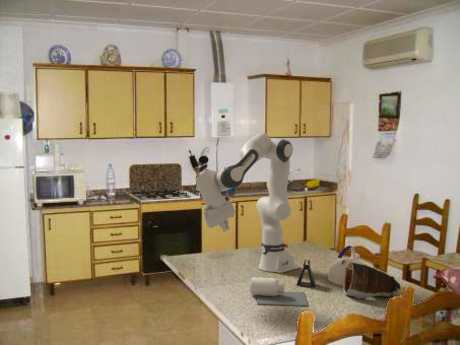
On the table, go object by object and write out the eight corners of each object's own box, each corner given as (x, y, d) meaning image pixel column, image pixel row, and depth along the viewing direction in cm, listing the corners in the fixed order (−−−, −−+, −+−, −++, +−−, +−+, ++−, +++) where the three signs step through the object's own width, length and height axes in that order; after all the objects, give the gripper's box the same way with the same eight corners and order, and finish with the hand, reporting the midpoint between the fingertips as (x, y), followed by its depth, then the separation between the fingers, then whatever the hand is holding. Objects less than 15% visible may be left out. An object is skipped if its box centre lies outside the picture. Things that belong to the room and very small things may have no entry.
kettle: (375, 280, 237) (377, 246, 236) (356, 290, 222) (357, 253, 220) (340, 271, 251) (341, 239, 249) (319, 280, 236) (321, 245, 234)
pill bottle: (253, 279, 217) (285, 281, 214) (251, 296, 213) (284, 299, 210) (250, 275, 210) (283, 277, 207) (249, 292, 207) (282, 295, 203)
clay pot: (409, 276, 207) (354, 264, 207) (402, 310, 206) (347, 297, 206) (397, 270, 221) (346, 259, 222) (391, 301, 221) (340, 290, 221)
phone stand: (315, 283, 230) (316, 260, 229) (314, 287, 224) (315, 263, 223) (297, 281, 232) (298, 258, 231) (296, 285, 226) (297, 261, 225)
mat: (257, 304, 200) (257, 303, 200) (256, 291, 216) (256, 290, 216) (307, 306, 199) (308, 305, 199) (303, 293, 215) (303, 292, 215)
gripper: (207, 207, 205) (220, 236, 205) (230, 195, 222) (242, 221, 222) (197, 211, 208) (209, 239, 208) (221, 199, 225) (232, 225, 225)
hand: (226, 230), depth 215 cm, fingers closed
